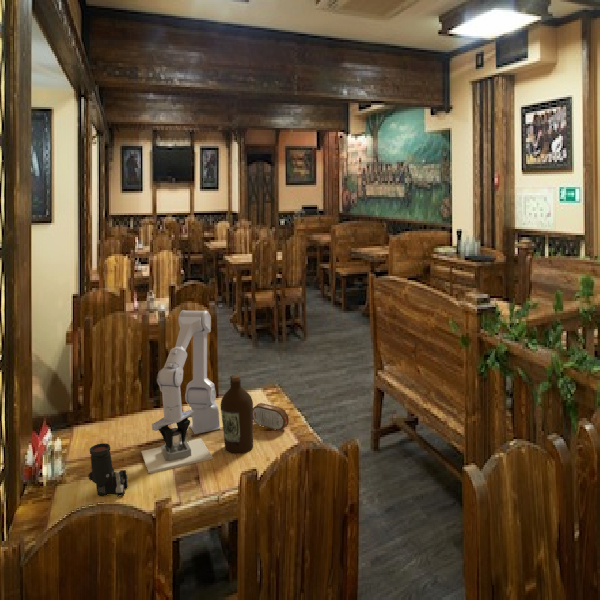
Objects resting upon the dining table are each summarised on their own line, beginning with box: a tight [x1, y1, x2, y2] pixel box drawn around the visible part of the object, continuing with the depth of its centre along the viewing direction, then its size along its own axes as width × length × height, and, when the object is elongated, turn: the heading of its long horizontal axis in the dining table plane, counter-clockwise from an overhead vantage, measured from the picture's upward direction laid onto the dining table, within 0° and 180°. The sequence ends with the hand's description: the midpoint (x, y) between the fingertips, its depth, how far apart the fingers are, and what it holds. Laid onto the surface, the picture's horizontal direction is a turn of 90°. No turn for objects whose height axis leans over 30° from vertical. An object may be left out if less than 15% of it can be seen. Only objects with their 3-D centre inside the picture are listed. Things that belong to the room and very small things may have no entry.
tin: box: [253, 402, 290, 431], centre depth 189 cm, size 15×3×8 cm, turn 58°
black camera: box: [87, 442, 129, 498], centre depth 148 cm, size 8×14×10 cm
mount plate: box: [141, 437, 213, 474], centre depth 170 cm, size 20×15×3 cm
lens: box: [169, 427, 183, 453], centre depth 169 cm, size 4×4×7 cm
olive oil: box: [220, 374, 254, 455], centre depth 172 cm, size 11×11×25 cm
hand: (175, 444), depth 169 cm, fingers closed on lens, 4 cm apart
